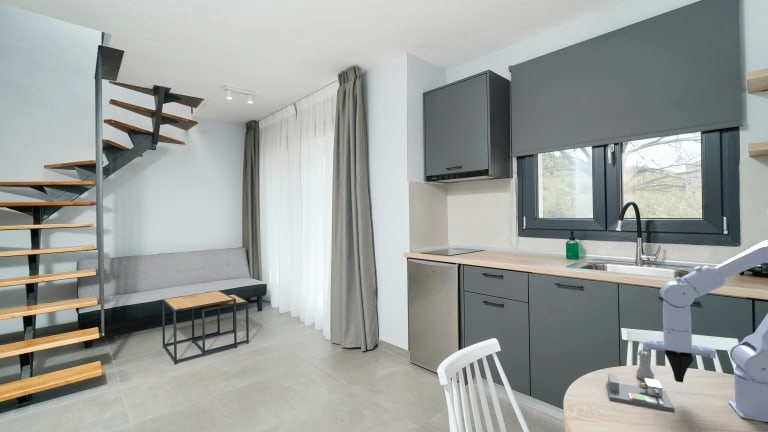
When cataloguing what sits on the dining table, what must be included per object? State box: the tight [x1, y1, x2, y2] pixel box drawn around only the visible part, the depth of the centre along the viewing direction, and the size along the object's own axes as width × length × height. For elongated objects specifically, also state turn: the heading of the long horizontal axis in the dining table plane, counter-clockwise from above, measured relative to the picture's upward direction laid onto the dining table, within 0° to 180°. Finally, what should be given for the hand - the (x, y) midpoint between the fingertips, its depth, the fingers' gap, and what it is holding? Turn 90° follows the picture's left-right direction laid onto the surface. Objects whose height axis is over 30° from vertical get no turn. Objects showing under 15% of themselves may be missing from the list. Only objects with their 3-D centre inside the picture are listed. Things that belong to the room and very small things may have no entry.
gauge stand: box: [606, 372, 676, 413], centre depth 94 cm, size 14×10×3 cm
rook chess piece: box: [635, 349, 656, 382], centre depth 105 cm, size 4×4×8 cm
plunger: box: [638, 378, 663, 398], centre depth 93 cm, size 4×8×2 cm, turn 152°
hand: (678, 380), depth 92 cm, fingers closed
